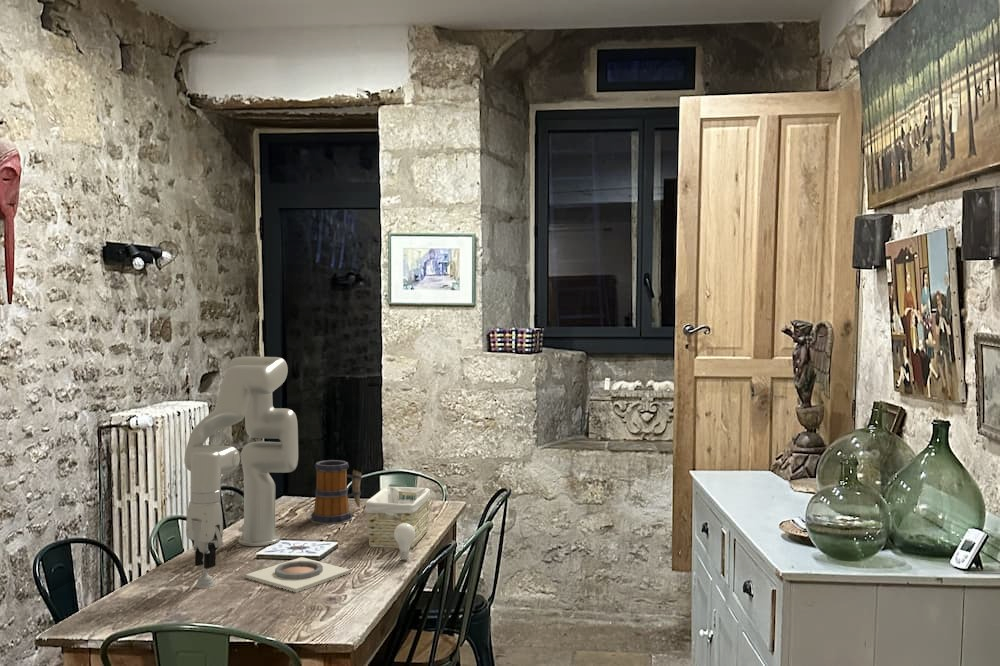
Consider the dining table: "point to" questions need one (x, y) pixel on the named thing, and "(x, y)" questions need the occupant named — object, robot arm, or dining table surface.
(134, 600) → the dining table surface
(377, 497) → the storage basket
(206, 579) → the chalice
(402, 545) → the lightbulb
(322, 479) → the mug
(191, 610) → the dining table surface
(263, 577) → the seat board
